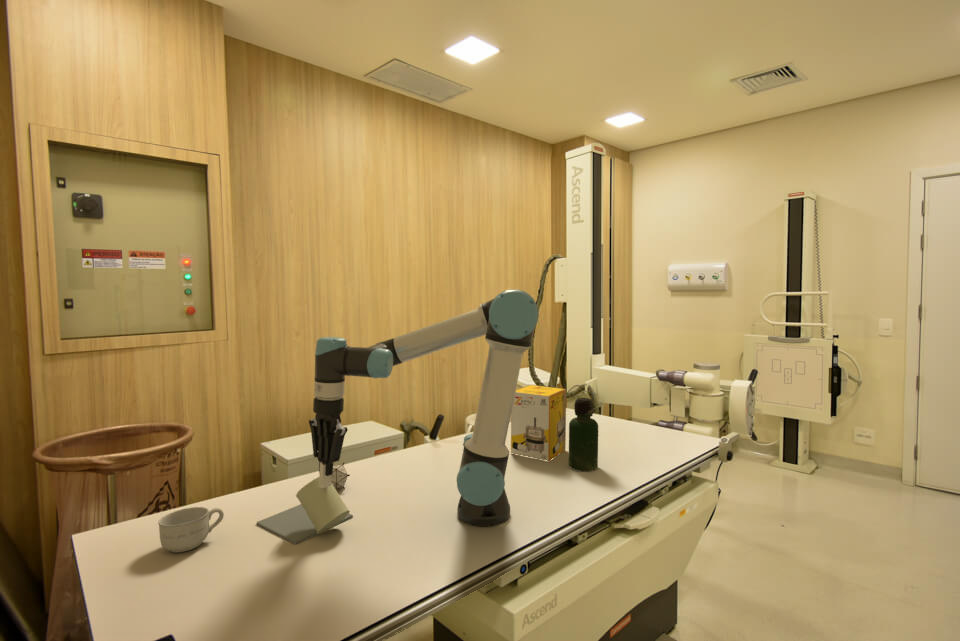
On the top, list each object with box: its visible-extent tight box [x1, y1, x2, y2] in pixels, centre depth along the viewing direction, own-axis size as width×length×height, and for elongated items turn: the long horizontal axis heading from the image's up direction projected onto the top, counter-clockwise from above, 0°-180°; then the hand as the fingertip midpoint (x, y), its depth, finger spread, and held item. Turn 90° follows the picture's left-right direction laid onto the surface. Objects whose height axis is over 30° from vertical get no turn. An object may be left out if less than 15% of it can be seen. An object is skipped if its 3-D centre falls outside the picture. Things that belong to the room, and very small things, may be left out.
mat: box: [256, 503, 354, 545], centre depth 132 cm, size 18×18×1 cm
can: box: [295, 476, 350, 535], centre depth 127 cm, size 9×9×12 cm
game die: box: [331, 462, 351, 490], centre depth 154 cm, size 9×8×10 cm
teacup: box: [157, 506, 225, 553], centre depth 120 cm, size 14×11×8 cm
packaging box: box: [510, 384, 567, 462], centre depth 190 cm, size 16×16×25 cm
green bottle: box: [568, 397, 599, 472], centre depth 174 cm, size 10×10×25 cm
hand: (325, 486), depth 125 cm, fingers closed
